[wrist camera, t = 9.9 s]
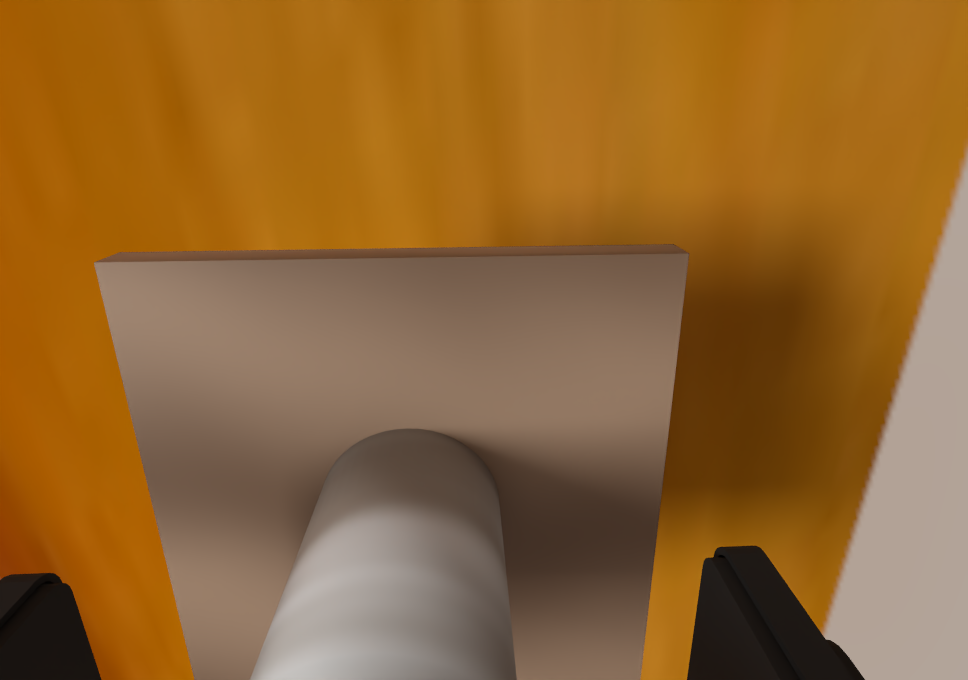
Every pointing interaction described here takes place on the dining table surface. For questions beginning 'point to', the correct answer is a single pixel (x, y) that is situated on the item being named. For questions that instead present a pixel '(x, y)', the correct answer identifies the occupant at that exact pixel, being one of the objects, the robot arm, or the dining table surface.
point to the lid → (404, 453)
